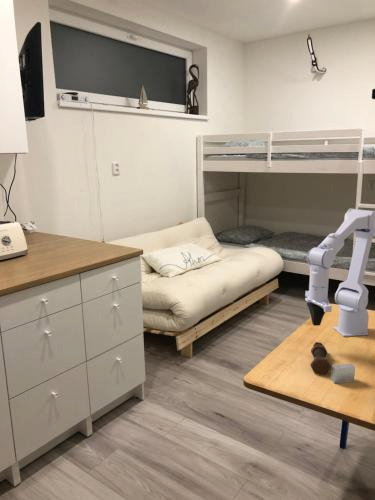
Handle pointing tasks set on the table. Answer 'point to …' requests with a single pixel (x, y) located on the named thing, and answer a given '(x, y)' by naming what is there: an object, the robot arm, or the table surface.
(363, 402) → the table surface
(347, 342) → the table surface
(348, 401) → the table surface
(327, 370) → the bolt
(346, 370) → the block
